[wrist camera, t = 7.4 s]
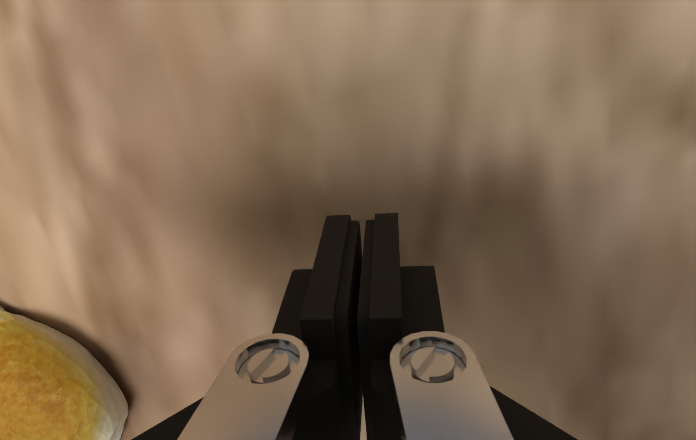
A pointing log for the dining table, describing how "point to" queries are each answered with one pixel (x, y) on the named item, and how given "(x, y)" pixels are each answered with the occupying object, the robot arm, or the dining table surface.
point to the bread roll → (54, 386)
